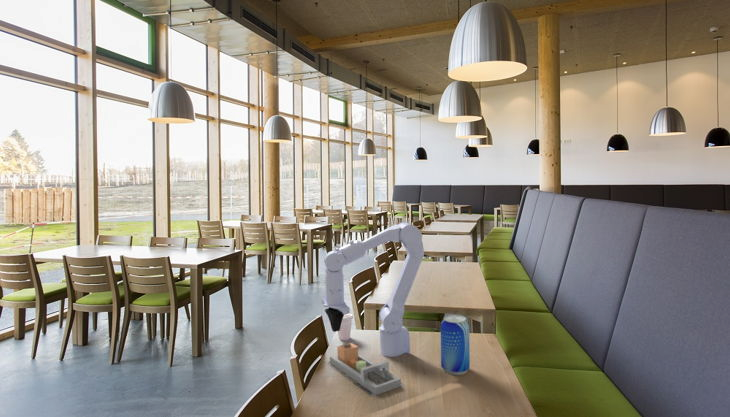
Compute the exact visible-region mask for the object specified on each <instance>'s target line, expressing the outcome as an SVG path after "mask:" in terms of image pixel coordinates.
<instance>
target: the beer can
mask: <svg viewBox="0 0 730 417" xmlns="http://www.w3.org/2000/svg"><path fill="white" fill-rule="evenodd" d="M470 352H471V351H470V325H469V323H468V321H467V318H466V317H465V316H463V315H460V314H459V315H458V314H449V315H446V316H444V317H443V320H442V322H441V324H440V361H441V362H440V367H441V369H442V370H443V371H444V372H445V373H446V374H448V375H451V376H463V375H465V374H467V373H468V371H469V369H470V365H471V364H470V359H471V357H470V356H471V355H470Z"/></svg>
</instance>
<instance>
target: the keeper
mask: <svg viewBox="0 0 730 417" xmlns="http://www.w3.org/2000/svg"><path fill="white" fill-rule="evenodd" d="M336 348H337V359H339V360H340V361H342V362H343V363H345V364H346V365H348V366H349V367H351V368H352V369H355V370H356V362H357V361H358V354H359V347H358V345H356V344H354V343H352V342H349V343H345V344H342V345H338V346H337V347H336Z"/></svg>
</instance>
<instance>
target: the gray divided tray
mask: <svg viewBox="0 0 730 417" xmlns="http://www.w3.org/2000/svg"><path fill="white" fill-rule="evenodd" d="M358 361H365V362H366V367H367V366H371V365H374V364H376V363H375V362H373V361H371V360H370V359H369V358H366V357H365V356H363V355H361V354H360V353H358ZM329 364H330V367H331V368H332V369H334V370H335V372H338V371H340V372H341V376H342V375H343V376H347V377H348V379H349V380H348V381H351V382H352V383H353V384H354V386H357V387H358V388H359V389H361V390H362V391H363V392H364V393H366V394H367V395H369V396H370V397H371V398H372V397H375V396H377V395H378V396H379V395H381V394H384V393H386V392H389V391H392V390H394V389H396V388H400V387H402V386H405V384H404V383H403V382H401V380H402V379H401V378H400V377H398V376H396V375H395V374H393V373H391V372H390V371H389V372H387V373H385V379H383V378H382V368H381V369H378V370H375V371H372V372H369V373H368V379H366V380H364V387H363V386H362V385H361V374H360V373H358V372H357V371H356V369H352V368H351V367H349V366H348V365H346V364H345V363H343V362H342V361H340V360H339V359H338V357H336V356H335V355H330V356H329Z"/></svg>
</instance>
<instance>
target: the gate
mask: <svg viewBox="0 0 730 417" xmlns="http://www.w3.org/2000/svg"><path fill="white" fill-rule="evenodd" d="M381 368H382V378H383V379H385V373H387V372H390V362H389V361H388V360H383V361H380V362H377V363H375V364H374V365H371V366H367V367H364V368H361V384H360V385H361V387H362V386H363V387H364V380H366V379H368V378H369V377H368V376H369V374H368V373H370V372H371V373H372V371H375V370H378V369H381Z"/></svg>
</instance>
